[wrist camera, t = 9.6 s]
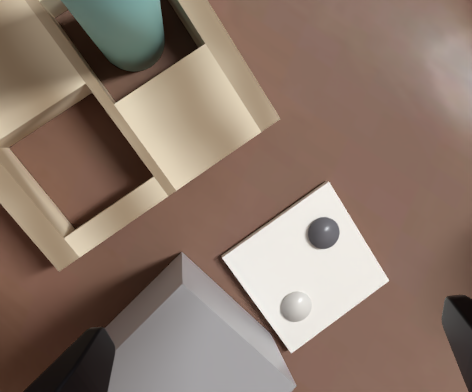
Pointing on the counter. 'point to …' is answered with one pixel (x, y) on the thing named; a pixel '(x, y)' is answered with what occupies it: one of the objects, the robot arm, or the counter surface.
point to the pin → (123, 30)
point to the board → (120, 116)
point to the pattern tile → (306, 267)
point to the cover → (192, 340)
